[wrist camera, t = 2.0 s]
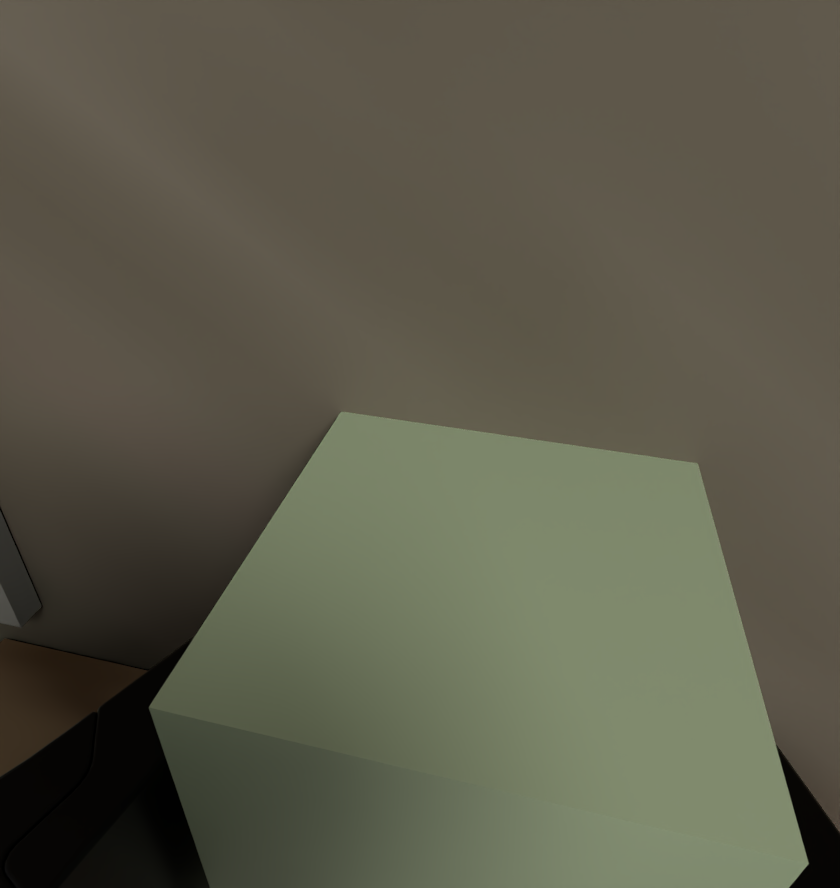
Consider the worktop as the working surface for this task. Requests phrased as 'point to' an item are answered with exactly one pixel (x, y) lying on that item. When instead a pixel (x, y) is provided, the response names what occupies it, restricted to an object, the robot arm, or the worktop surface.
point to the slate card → (14, 583)
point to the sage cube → (479, 680)
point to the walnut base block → (49, 695)
